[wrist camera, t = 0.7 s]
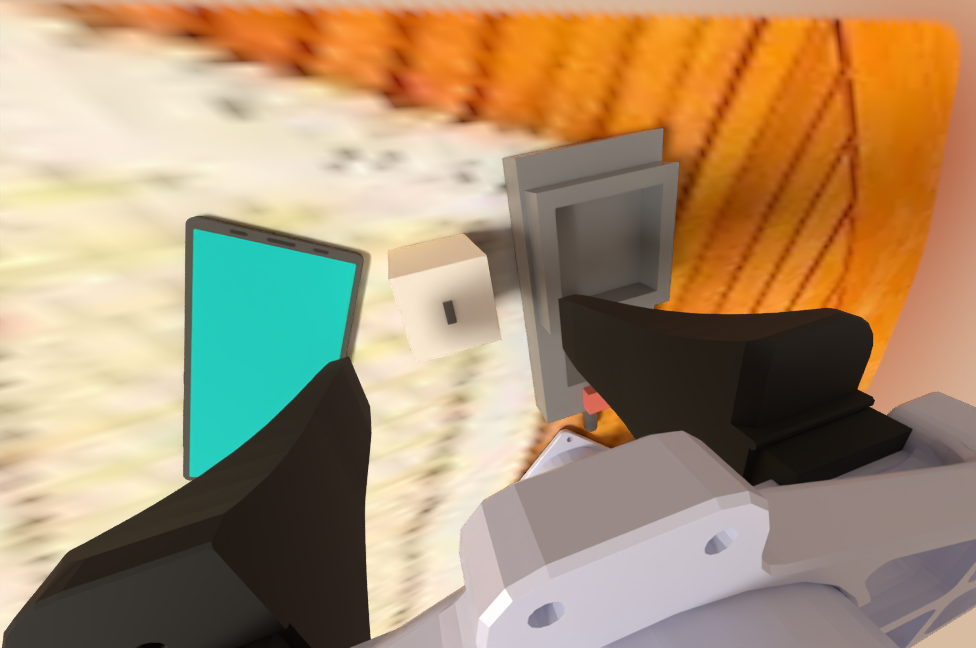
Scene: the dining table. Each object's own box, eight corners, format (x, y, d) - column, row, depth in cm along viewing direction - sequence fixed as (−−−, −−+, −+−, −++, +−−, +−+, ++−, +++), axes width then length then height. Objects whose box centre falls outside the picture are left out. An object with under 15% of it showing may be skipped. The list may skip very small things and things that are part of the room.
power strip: (631, 410, 28) (662, 441, 25) (541, 440, 26) (561, 477, 23) (637, 131, 19) (686, 125, 16) (502, 158, 18) (526, 158, 15)
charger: (476, 301, 21) (502, 340, 16) (409, 319, 20) (415, 365, 15) (462, 233, 19) (487, 256, 14) (387, 250, 18) (388, 280, 14)
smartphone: (364, 256, 17) (322, 482, 22) (364, 252, 18) (324, 472, 23) (182, 214, 15) (181, 480, 20) (192, 212, 16) (188, 469, 21)
